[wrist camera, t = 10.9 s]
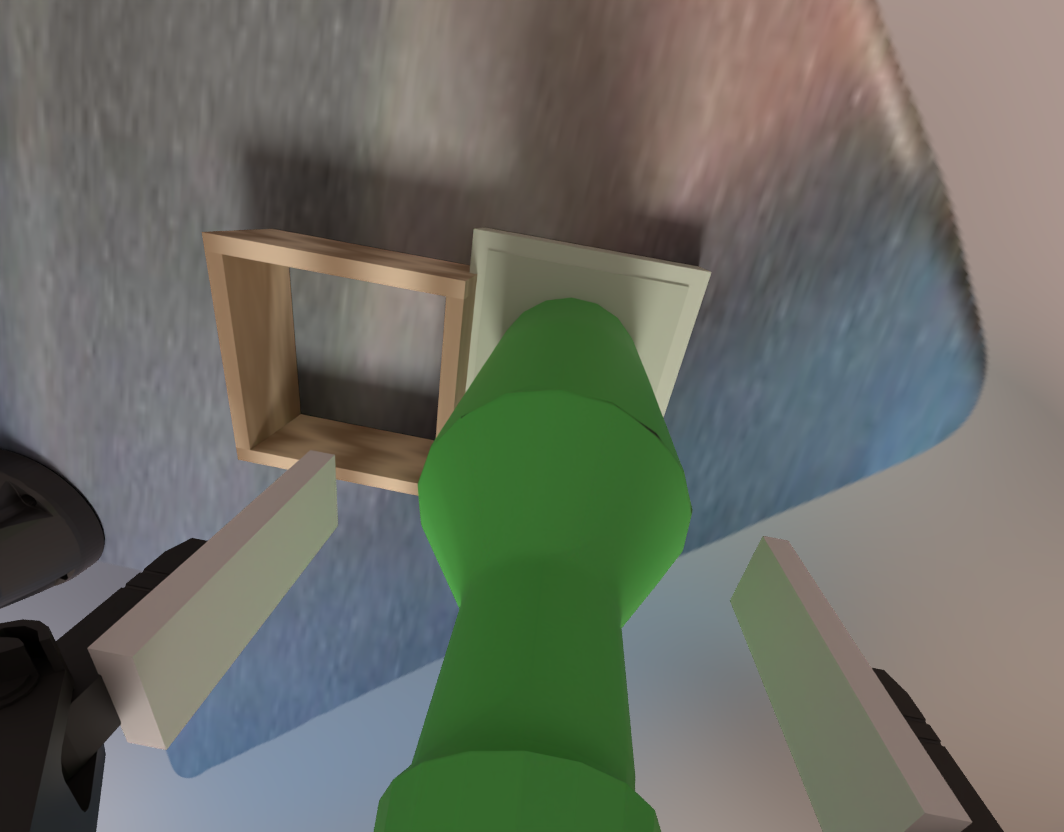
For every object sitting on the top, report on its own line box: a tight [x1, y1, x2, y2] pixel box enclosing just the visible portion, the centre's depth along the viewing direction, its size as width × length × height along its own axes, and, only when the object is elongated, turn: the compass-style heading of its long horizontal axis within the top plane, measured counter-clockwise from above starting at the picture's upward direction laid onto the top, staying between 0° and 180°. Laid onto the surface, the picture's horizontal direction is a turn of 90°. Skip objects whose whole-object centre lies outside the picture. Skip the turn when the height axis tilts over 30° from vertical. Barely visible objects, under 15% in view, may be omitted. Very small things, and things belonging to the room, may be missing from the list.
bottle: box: [374, 298, 692, 832], centre depth 17 cm, size 9×9×25 cm
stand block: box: [465, 227, 711, 417], centre depth 29 cm, size 14×14×3 cm
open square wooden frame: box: [202, 229, 478, 495], centre depth 30 cm, size 15×15×6 cm
